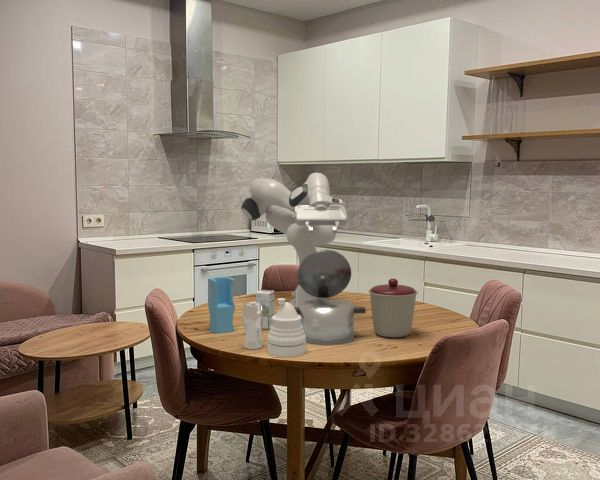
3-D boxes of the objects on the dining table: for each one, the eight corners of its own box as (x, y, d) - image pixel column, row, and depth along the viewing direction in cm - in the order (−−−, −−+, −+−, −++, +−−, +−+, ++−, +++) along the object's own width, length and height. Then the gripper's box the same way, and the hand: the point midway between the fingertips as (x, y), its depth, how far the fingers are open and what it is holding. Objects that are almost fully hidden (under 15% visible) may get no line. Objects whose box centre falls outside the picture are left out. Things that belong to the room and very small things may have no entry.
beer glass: (243, 344, 206) (242, 301, 205) (263, 343, 207) (263, 301, 205) (243, 349, 199) (242, 306, 198) (263, 349, 200) (263, 305, 198)
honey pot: (275, 359, 189) (275, 303, 188) (262, 348, 201) (261, 296, 199) (312, 354, 194) (312, 300, 193) (296, 344, 206) (296, 293, 204)
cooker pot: (286, 329, 226) (286, 298, 225) (358, 328, 228) (359, 298, 227) (289, 345, 205) (289, 311, 204) (369, 344, 207) (369, 310, 206)
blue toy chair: (215, 333, 220) (214, 280, 218) (208, 329, 227) (207, 277, 225) (235, 331, 224) (234, 279, 222) (227, 326, 231) (227, 276, 229)
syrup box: (275, 326, 231) (274, 290, 230) (269, 330, 226) (269, 292, 224) (261, 325, 233) (261, 289, 232) (255, 328, 228) (255, 291, 226)
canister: (365, 328, 229) (366, 274, 227) (412, 328, 228) (413, 274, 226) (369, 340, 211) (370, 282, 209) (420, 341, 211) (422, 283, 208)
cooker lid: (297, 298, 224) (296, 294, 226) (349, 297, 225) (348, 293, 228) (298, 251, 215) (298, 247, 218) (352, 250, 216) (351, 247, 219)
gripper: (294, 200, 232) (296, 226, 224) (346, 199, 234) (349, 226, 225) (293, 210, 237) (295, 237, 229) (344, 210, 239) (347, 237, 230)
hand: (322, 232), depth 227 cm, fingers open, 8 cm apart
